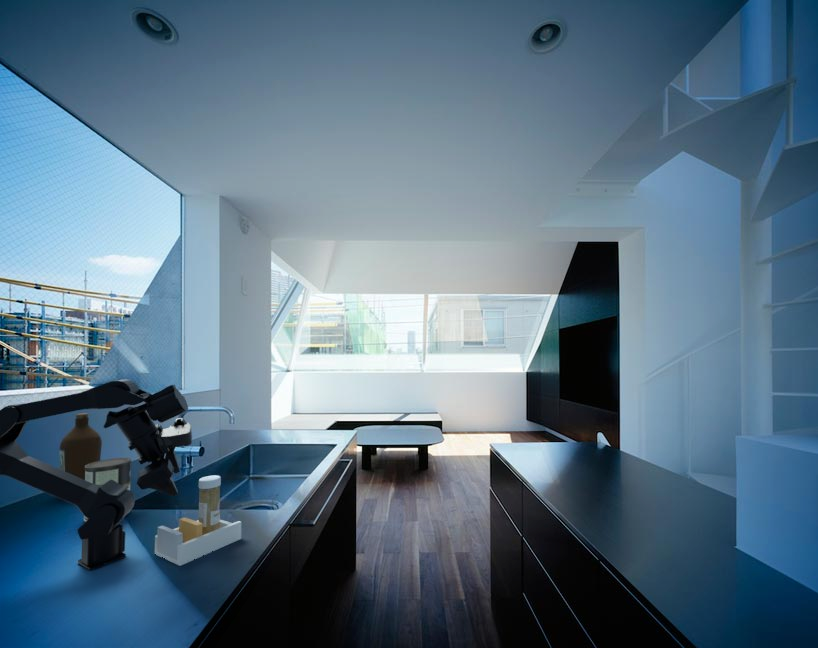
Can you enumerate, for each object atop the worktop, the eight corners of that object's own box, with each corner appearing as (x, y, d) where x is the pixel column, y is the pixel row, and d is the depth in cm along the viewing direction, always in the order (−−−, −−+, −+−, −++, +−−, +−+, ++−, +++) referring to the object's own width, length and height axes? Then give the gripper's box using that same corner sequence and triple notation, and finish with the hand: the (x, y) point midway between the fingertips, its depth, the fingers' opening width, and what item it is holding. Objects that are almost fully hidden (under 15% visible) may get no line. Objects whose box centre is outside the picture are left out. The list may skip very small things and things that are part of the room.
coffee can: (119, 506, 118) (121, 456, 119) (137, 512, 113) (138, 460, 114) (76, 518, 110) (78, 464, 111) (92, 526, 104) (94, 469, 105)
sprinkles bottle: (221, 539, 92) (222, 478, 93) (198, 544, 90) (199, 481, 91) (218, 532, 96) (219, 473, 97) (196, 537, 94) (197, 476, 95)
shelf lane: (179, 565, 83) (180, 536, 83) (154, 554, 88) (155, 526, 88) (241, 538, 94) (241, 512, 95) (215, 529, 100) (215, 505, 100)
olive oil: (101, 485, 138) (103, 410, 140) (99, 493, 130) (102, 413, 132) (59, 492, 132) (62, 413, 134) (55, 501, 124) (58, 417, 125)
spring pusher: (196, 549, 87) (196, 525, 87) (178, 542, 91) (179, 519, 91) (202, 547, 88) (202, 523, 88) (184, 540, 92) (184, 517, 92)
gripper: (176, 432, 85) (212, 487, 91) (180, 397, 101) (210, 446, 107) (118, 461, 81) (159, 516, 87) (132, 419, 98) (166, 468, 104)
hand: (176, 483), depth 97 cm, fingers open, 9 cm apart
